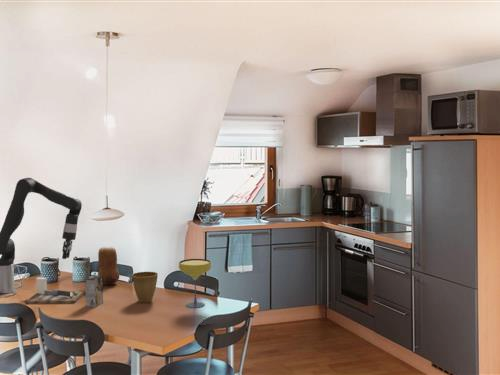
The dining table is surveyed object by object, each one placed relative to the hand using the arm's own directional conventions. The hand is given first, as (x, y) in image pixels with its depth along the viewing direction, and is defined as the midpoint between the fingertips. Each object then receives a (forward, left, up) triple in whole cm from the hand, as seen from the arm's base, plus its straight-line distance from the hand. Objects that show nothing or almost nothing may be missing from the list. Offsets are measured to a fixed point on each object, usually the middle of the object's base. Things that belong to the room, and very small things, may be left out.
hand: (65, 258), depth 327 cm
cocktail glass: (+79, -20, -24) cm, 85 cm away
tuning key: (-7, -2, -21) cm, 23 cm away
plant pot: (+49, -10, -24) cm, 55 cm away
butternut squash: (+19, +29, -24) cm, 42 cm away
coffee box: (+21, -16, -24) cm, 35 cm away
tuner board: (-5, -3, -24) cm, 24 cm away
